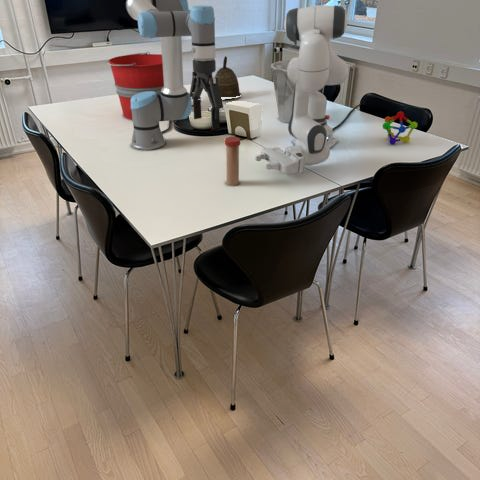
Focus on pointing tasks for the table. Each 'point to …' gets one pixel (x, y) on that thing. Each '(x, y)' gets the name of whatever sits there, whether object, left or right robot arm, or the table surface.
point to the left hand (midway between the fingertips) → (206, 123)
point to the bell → (227, 81)
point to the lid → (232, 141)
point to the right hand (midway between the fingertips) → (261, 162)
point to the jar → (232, 165)
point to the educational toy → (398, 128)
